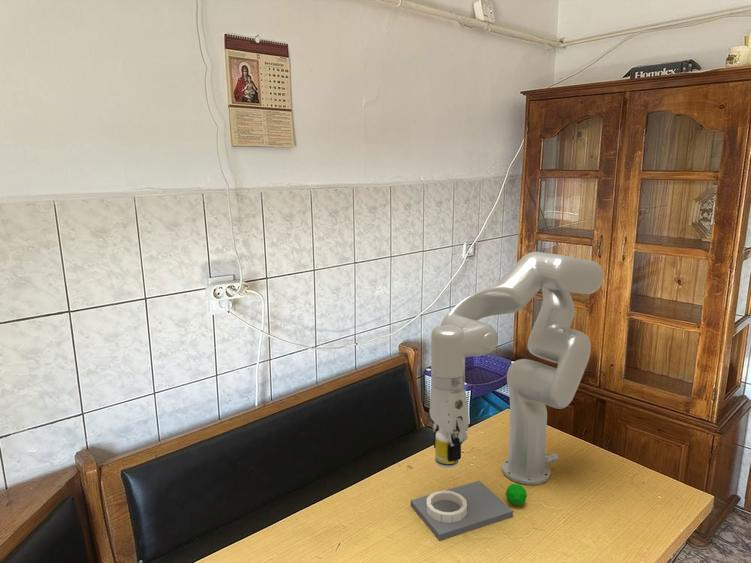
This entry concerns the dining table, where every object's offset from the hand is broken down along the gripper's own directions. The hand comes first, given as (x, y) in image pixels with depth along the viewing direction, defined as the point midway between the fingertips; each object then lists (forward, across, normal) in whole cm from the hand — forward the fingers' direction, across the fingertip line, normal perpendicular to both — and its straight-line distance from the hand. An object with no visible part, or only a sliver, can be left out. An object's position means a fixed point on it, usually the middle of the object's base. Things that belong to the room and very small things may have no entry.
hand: (447, 452), depth 124 cm
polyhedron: (+17, -3, -18) cm, 25 cm away
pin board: (+16, 0, -4) cm, 17 cm away
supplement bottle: (+3, 0, 0) cm, 3 cm away
